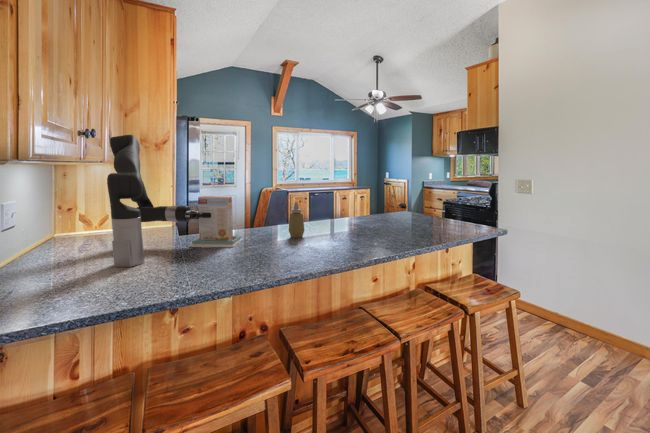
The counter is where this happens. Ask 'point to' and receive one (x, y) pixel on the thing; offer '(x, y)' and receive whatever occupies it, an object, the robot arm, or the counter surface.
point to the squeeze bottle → (296, 222)
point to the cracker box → (216, 218)
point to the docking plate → (216, 242)
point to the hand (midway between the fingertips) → (213, 214)
